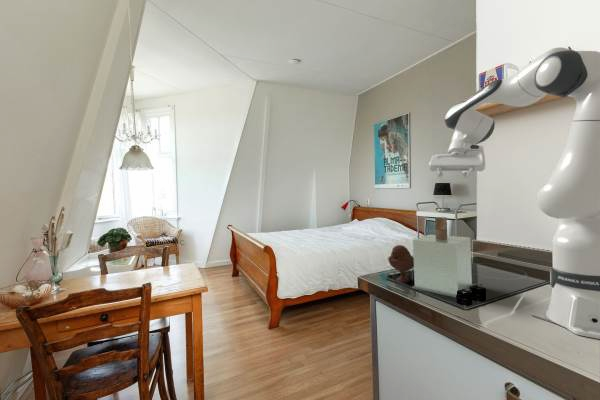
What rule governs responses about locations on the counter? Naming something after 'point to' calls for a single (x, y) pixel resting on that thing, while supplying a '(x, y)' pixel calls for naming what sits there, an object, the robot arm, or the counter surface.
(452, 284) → the cover
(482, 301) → the counter surface
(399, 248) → the ice cream bowl
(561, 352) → the counter surface
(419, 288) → the mat
